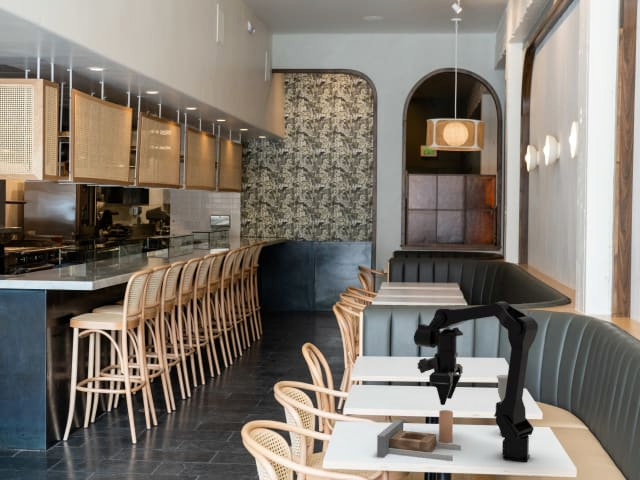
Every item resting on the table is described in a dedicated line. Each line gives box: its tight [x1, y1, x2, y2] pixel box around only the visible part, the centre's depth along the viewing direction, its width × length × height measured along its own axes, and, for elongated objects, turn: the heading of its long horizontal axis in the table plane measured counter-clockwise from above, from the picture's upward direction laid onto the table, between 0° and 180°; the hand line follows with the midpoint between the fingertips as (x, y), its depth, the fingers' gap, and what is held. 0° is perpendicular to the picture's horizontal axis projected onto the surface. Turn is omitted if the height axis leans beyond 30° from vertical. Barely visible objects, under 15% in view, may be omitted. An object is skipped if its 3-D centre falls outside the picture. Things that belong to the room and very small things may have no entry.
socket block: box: [390, 430, 437, 453], centre depth 232 cm, size 11×10×4 cm
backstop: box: [376, 419, 462, 462], centre depth 231 cm, size 20×20×6 cm
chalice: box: [496, 374, 508, 437], centre depth 250 cm, size 7×7×18 cm
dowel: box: [438, 409, 454, 444], centre depth 241 cm, size 4×4×9 cm
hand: (446, 401), depth 241 cm, fingers open, 9 cm apart
